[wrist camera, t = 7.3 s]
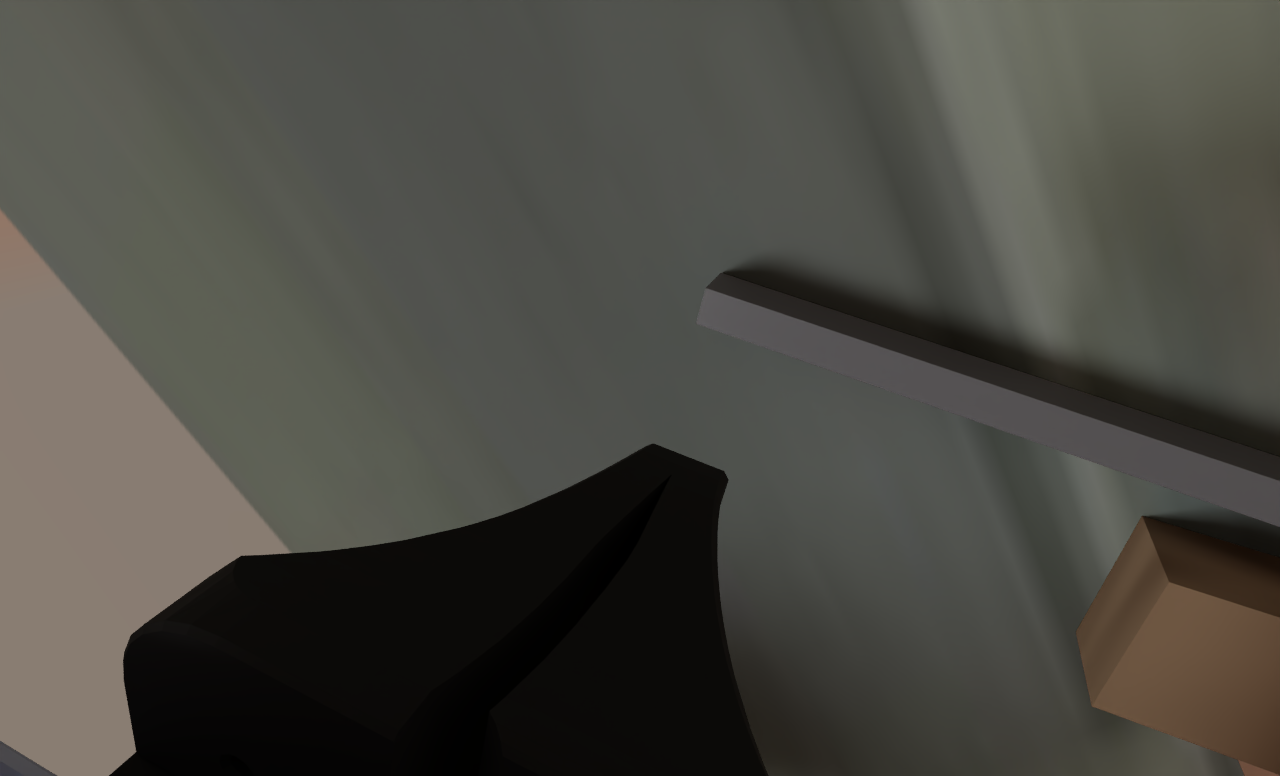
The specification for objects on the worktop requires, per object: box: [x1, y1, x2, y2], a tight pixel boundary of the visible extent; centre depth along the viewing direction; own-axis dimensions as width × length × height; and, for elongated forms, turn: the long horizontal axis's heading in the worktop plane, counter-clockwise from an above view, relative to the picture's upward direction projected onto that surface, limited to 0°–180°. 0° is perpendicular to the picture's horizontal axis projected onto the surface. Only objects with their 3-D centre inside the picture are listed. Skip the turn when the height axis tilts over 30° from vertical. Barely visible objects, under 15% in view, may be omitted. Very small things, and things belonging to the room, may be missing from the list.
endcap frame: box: [696, 273, 1280, 776], centre depth 18 cm, size 21×8×4 cm, turn 77°
